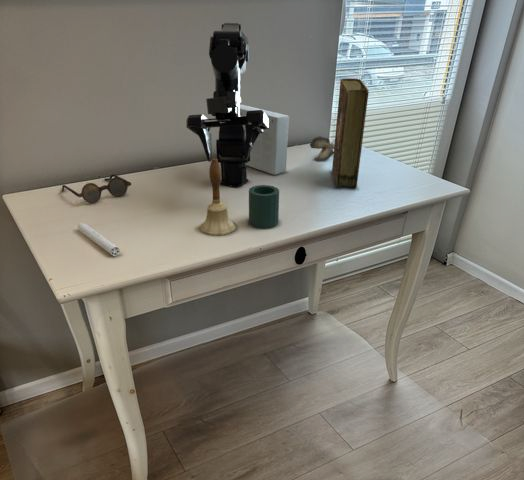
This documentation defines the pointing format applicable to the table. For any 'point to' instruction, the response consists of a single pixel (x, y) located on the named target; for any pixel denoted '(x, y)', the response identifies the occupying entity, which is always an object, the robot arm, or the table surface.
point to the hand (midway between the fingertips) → (227, 160)
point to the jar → (263, 206)
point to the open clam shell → (323, 148)
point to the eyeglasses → (93, 192)
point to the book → (349, 132)
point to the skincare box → (269, 143)
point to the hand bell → (216, 207)
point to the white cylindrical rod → (99, 239)
